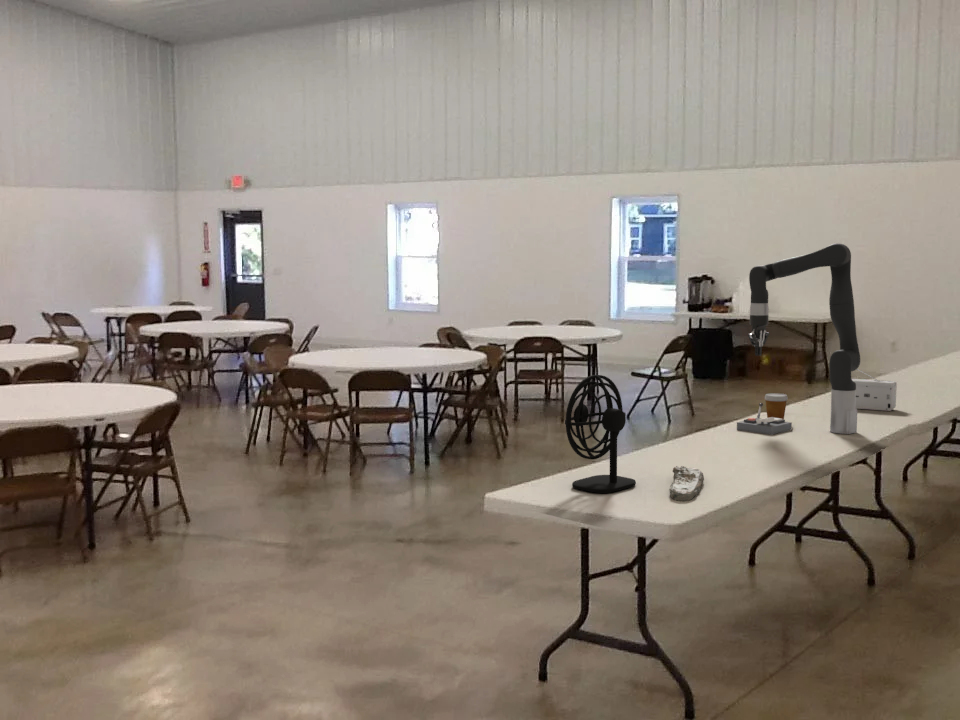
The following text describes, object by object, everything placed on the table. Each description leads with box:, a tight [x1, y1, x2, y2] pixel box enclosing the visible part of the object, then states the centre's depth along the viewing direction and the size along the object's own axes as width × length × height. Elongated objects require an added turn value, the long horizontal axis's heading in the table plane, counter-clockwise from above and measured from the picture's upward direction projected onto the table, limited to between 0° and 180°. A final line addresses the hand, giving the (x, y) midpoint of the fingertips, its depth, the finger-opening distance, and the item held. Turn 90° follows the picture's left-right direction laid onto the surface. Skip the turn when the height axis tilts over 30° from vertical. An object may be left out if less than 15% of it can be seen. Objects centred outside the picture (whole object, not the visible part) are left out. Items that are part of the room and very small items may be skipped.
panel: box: [736, 417, 793, 435], centre depth 415 cm, size 16×15×4 cm
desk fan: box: [564, 374, 637, 494], centre depth 319 cm, size 27×18×35 cm, turn 134°
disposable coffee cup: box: [764, 392, 789, 420], centre depth 430 cm, size 10×10×12 cm
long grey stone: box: [668, 465, 705, 502], centre depth 318 cm, size 35×5×10 cm
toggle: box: [756, 402, 764, 419], centre depth 423 cm, size 2×2×7 cm
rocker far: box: [756, 417, 775, 424], centre depth 410 cm, size 6×4×2 cm, turn 43°
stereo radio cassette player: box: [851, 368, 898, 412], centre depth 463 cm, size 21×8×20 cm, turn 58°
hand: (758, 355), depth 425 cm, fingers closed
